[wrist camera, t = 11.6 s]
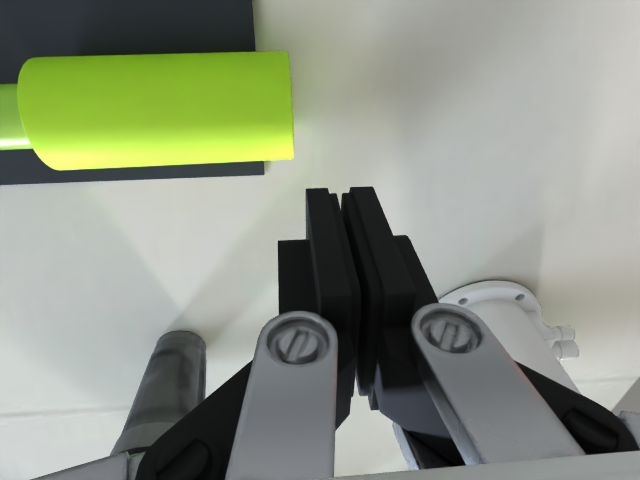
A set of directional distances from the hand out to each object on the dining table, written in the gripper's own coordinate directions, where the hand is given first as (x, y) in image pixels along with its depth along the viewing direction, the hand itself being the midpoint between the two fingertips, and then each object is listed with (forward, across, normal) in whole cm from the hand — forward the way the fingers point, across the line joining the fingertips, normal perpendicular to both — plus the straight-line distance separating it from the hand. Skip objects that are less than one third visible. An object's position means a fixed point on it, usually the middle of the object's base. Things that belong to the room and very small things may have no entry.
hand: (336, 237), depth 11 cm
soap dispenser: (+15, 0, +1) cm, 15 cm away
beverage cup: (+19, +12, +25) cm, 34 cm away
